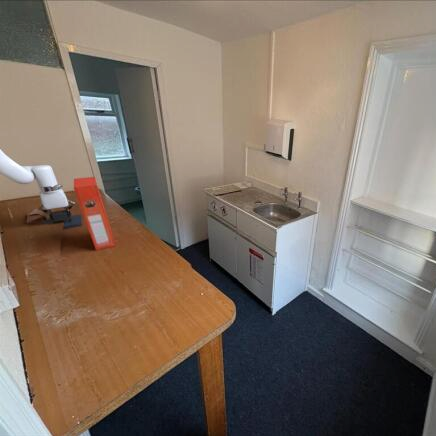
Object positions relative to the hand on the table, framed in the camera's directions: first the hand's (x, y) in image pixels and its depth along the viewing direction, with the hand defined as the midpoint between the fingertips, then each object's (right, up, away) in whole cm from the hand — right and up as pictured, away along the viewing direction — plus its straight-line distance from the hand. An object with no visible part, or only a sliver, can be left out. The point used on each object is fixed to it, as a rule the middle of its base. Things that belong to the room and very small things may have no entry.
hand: (61, 217), depth 134 cm
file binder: (+36, -12, -13) cm, 40 cm away
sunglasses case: (-22, 0, +7) cm, 24 cm away
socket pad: (0, -4, +2) cm, 4 cm away
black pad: (0, -1, 0) cm, 1 cm away
